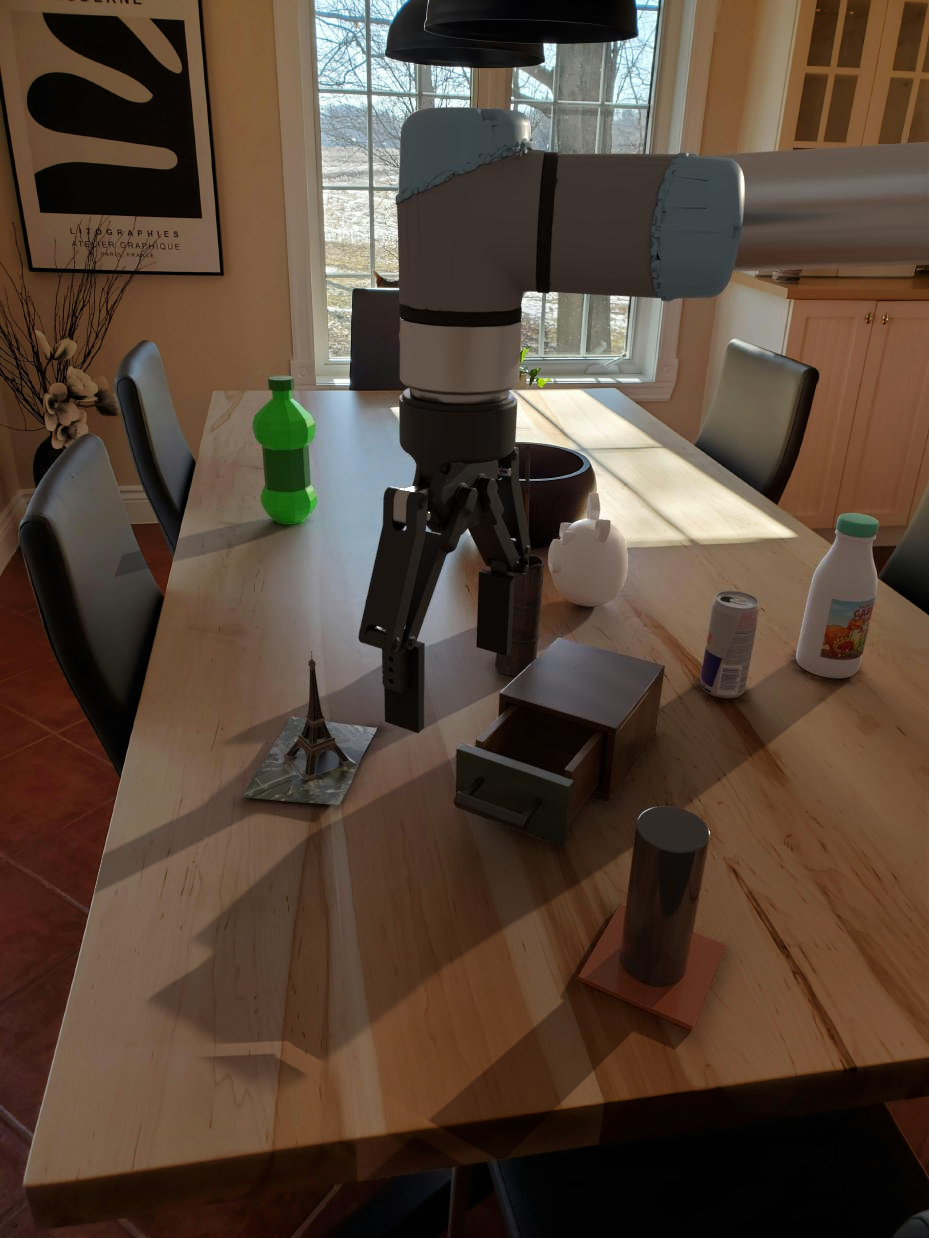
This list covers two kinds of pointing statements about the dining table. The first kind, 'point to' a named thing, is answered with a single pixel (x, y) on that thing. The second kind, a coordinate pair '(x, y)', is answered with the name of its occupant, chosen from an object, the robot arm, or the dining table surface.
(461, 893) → the dining table surface
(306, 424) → the plastic bottle
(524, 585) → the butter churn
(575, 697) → the cabinet
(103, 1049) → the dining table surface
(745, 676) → the energy drink
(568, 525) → the piggy bank
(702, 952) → the coaster
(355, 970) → the dining table surface
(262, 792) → the eiffel tower figurine
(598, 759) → the drawer
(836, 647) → the milk bottle
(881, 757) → the dining table surface
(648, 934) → the dark grey cylinder
